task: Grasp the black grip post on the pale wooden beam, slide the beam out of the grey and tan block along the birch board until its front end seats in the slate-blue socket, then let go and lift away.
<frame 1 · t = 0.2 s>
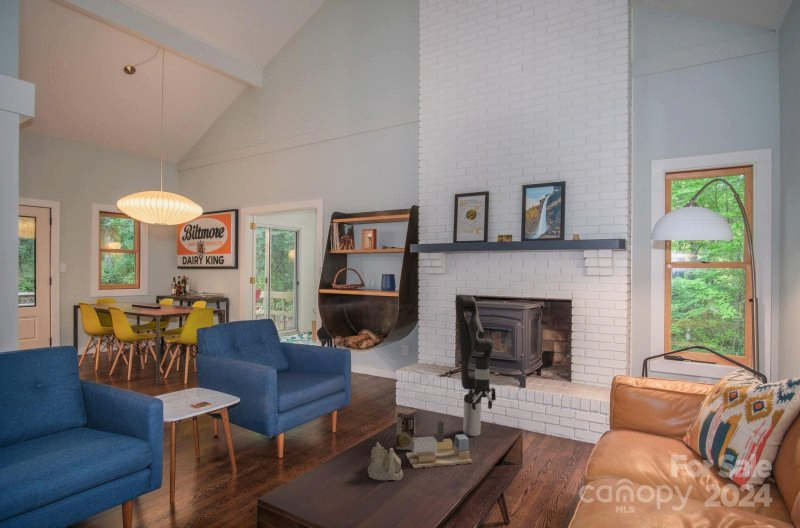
hand: (481, 409, 232), 17 cm above the table, tool pointing down, fingers open, 8 cm apart
slate-blue socket: (460, 457, 214), resting on birch board
coffee box: (405, 447, 225), on the table
grey and tan block: (424, 460, 210), resting on birch board
birch board: (438, 459, 212), on the table
ceramic cottage: (385, 472, 198), on the table
pale wooden beam: (435, 435, 211), point 11 cm above the table, slide at 0.0 cm
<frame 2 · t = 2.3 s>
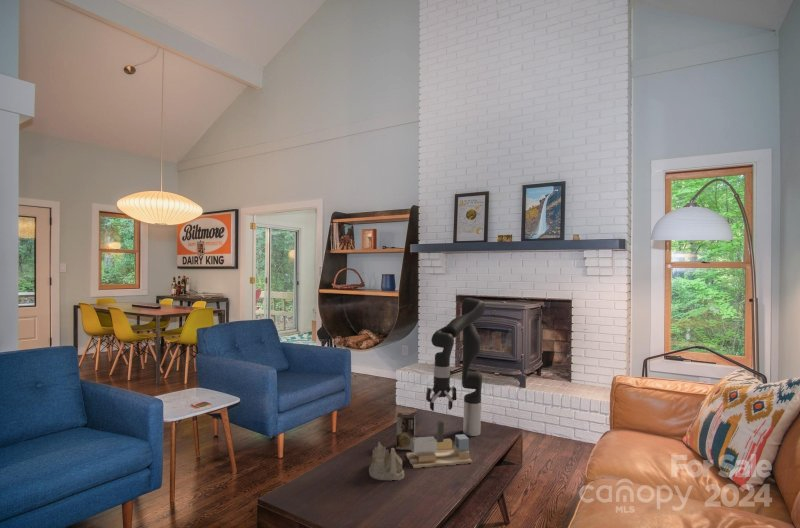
hand: (441, 409, 212), 23 cm above the table, tool pointing down, fingers open, 8 cm apart
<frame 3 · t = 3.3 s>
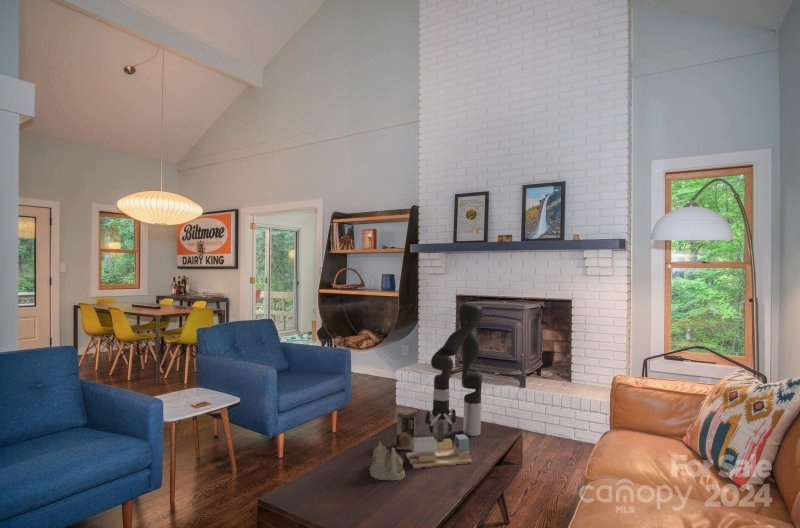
hand: (440, 432, 212), 13 cm above the table, tool pointing down, fingers open, 8 cm apart
nothing on the table moved.
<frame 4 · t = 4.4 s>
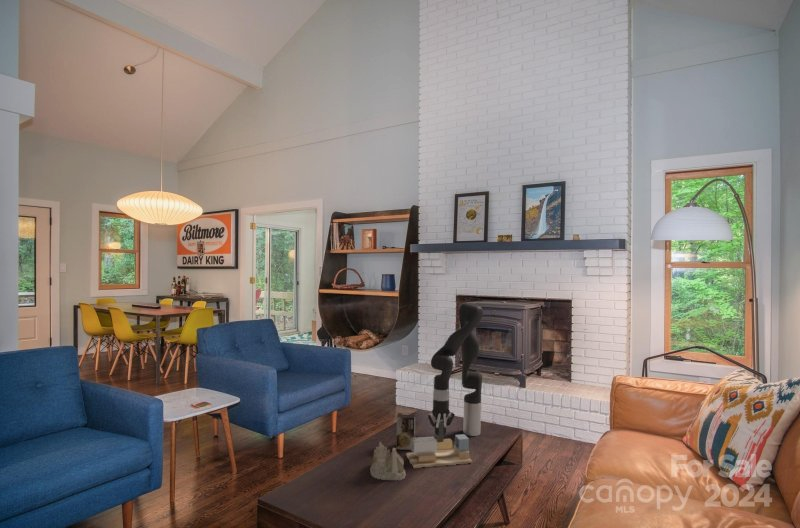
hand: (440, 434, 212), 12 cm above the table, tool pointing down, fingers closed on pale wooden beam, 2 cm apart
pale wooden beam: (435, 435, 211), point 11 cm above the table, slide at 0.0 cm, touching gripper
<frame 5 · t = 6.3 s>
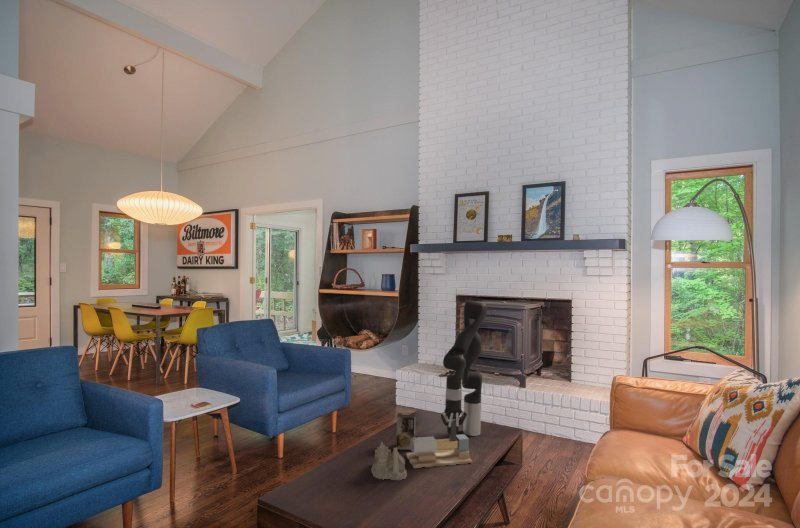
hand: (452, 433, 213), 12 cm above the table, tool pointing down, fingers closed on pale wooden beam, 2 cm apart
pale wooden beam: (447, 434, 213), point 11 cm above the table, slide at 6.2 cm, touching gripper
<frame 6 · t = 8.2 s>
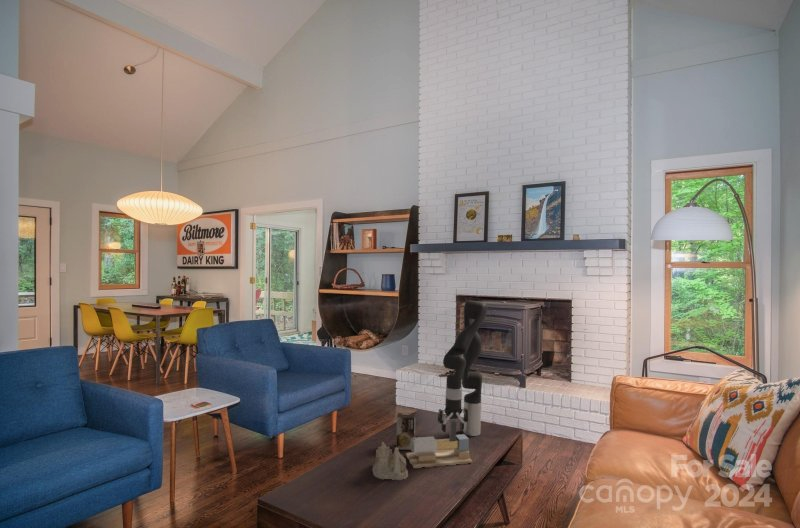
hand: (452, 431, 213), 13 cm above the table, tool pointing down, fingers open, 8 cm apart
pale wooden beam: (447, 434, 213), point 11 cm above the table, slide at 6.2 cm
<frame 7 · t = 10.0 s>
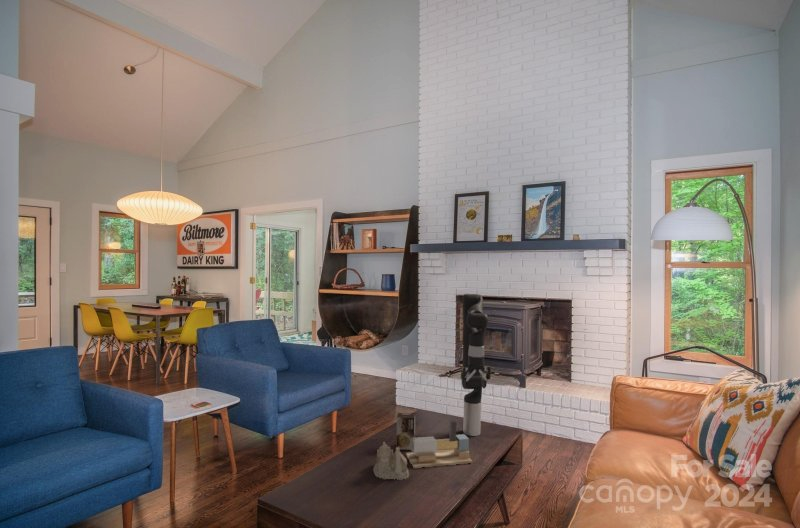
hand: (475, 388, 218), 32 cm above the table, tool pointing down, fingers open, 8 cm apart
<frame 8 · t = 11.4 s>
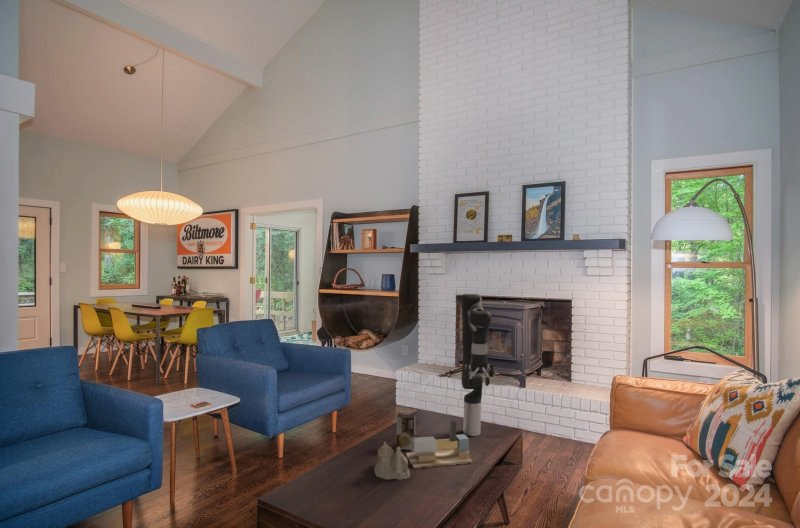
hand: (478, 385, 218), 33 cm above the table, tool pointing down, fingers open, 8 cm apart
at the end: pale wooden beam slide at 6.2 cm; the gripper is holding nothing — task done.
